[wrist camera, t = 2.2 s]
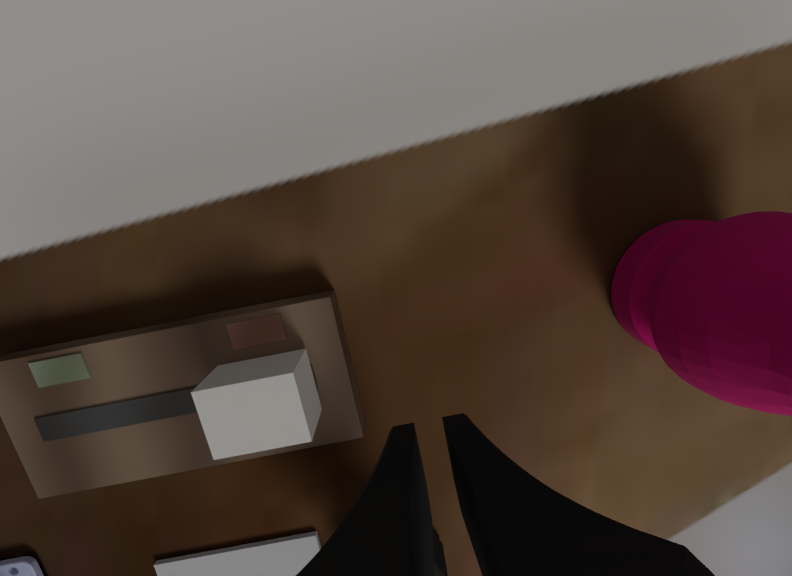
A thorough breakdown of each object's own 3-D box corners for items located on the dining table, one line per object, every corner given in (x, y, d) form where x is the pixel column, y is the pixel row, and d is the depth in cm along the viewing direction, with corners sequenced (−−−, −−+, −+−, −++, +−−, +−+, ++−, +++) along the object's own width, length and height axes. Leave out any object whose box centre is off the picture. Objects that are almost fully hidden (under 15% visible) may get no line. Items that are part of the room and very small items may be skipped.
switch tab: (236, 425, 18) (213, 460, 16) (217, 365, 18) (190, 392, 15) (321, 409, 18) (311, 441, 16) (305, 348, 18) (293, 372, 15)
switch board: (63, 477, 21) (37, 500, 19) (8, 353, 19) (-25, 367, 18) (365, 420, 20) (363, 438, 19) (334, 289, 19) (329, 297, 17)
